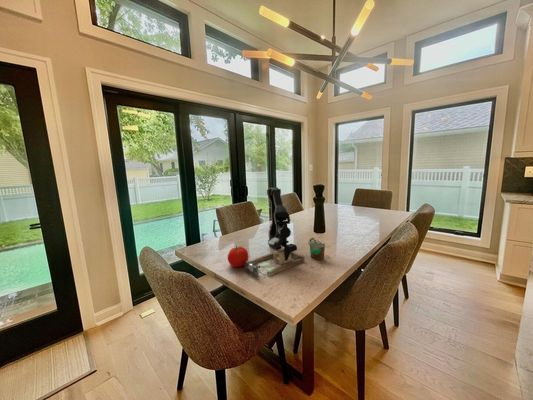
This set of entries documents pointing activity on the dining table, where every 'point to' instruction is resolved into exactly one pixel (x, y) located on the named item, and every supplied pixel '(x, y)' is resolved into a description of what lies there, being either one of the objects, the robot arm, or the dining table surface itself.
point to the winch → (252, 268)
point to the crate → (280, 256)
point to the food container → (316, 249)
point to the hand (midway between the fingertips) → (282, 258)
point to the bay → (274, 270)
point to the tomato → (237, 256)
